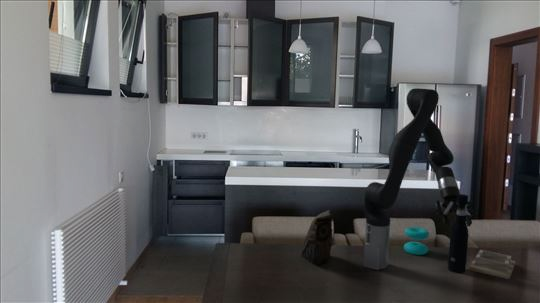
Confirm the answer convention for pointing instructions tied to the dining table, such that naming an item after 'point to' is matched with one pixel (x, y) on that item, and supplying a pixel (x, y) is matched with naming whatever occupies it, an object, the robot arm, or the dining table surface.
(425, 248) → the donuts
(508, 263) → the bottle stand
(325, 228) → the owl
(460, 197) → the wine bottle
